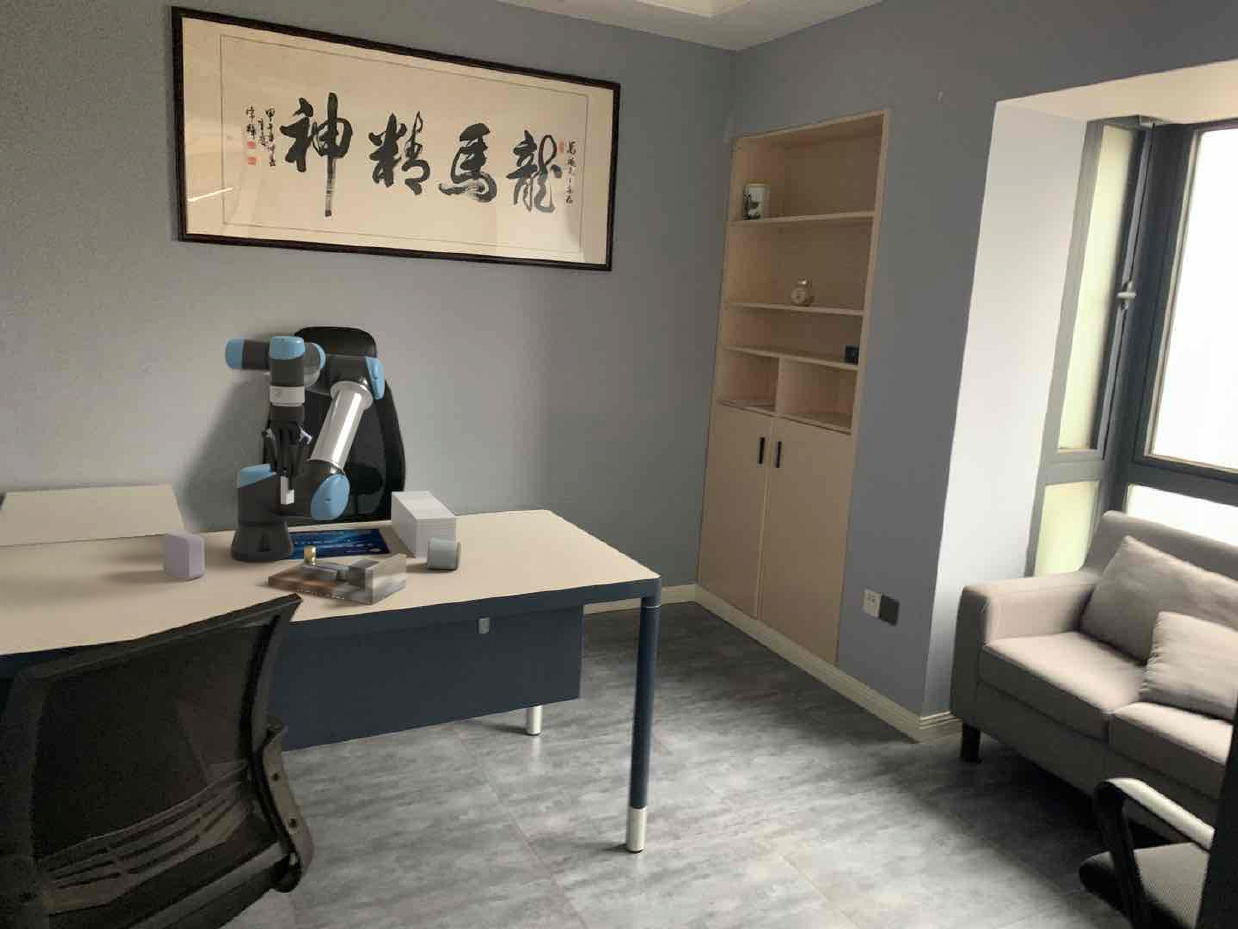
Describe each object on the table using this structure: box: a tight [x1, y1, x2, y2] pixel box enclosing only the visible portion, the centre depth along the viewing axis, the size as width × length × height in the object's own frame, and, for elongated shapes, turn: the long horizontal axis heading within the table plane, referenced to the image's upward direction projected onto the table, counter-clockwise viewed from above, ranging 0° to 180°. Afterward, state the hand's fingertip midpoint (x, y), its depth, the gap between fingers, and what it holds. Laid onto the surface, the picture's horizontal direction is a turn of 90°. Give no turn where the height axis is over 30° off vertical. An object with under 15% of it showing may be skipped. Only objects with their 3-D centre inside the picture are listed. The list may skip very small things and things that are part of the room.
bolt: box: [301, 545, 349, 580], centre depth 215 cm, size 12×3×6 cm, turn 72°
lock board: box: [267, 553, 407, 605], centre depth 214 cm, size 28×14×8 cm, turn 72°
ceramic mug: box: [426, 538, 462, 570], centre depth 235 cm, size 11×8×8 cm
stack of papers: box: [390, 490, 457, 559], centre depth 256 cm, size 32×11×11 cm, turn 25°
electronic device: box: [161, 529, 206, 581], centre depth 215 cm, size 10×5×10 cm, turn 59°
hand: (287, 502), depth 216 cm, fingers closed
